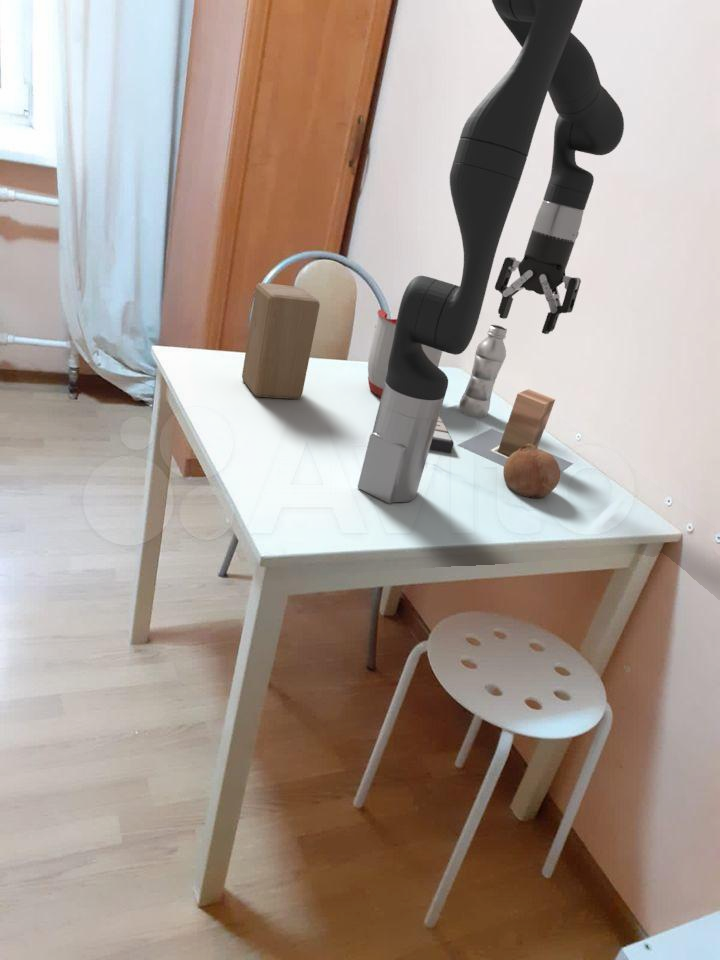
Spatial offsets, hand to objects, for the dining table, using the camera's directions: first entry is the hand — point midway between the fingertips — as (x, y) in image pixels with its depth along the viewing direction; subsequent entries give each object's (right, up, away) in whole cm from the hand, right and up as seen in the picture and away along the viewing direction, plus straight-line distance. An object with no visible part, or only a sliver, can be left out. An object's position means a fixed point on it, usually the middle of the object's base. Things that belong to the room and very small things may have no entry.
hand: (523, 325), depth 129 cm
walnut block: (+1, -23, +9) cm, 24 cm away
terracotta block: (+2, -18, +6) cm, 19 cm away
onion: (-1, -31, -4) cm, 31 cm away
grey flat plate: (0, -24, +10) cm, 26 cm away
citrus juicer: (-22, -9, +29) cm, 38 cm away
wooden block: (-47, -10, +14) cm, 50 cm away
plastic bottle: (-5, -14, +27) cm, 31 cm away
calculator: (-19, -20, +9) cm, 29 cm away
